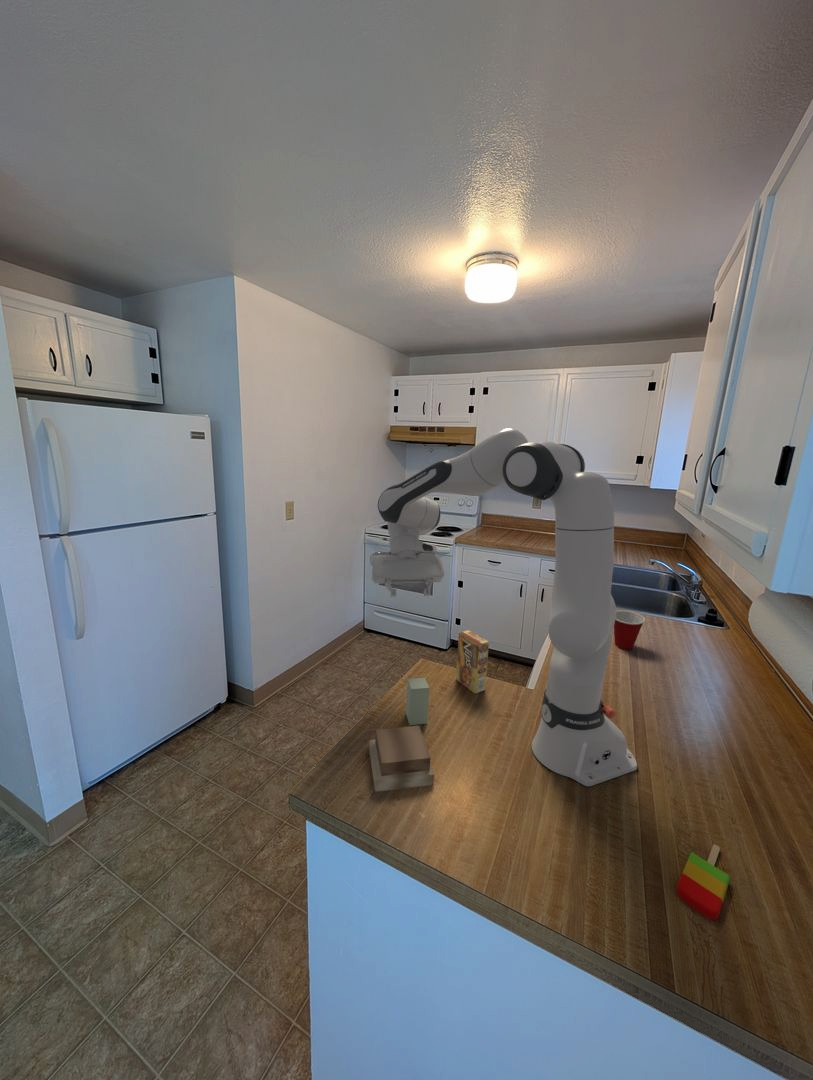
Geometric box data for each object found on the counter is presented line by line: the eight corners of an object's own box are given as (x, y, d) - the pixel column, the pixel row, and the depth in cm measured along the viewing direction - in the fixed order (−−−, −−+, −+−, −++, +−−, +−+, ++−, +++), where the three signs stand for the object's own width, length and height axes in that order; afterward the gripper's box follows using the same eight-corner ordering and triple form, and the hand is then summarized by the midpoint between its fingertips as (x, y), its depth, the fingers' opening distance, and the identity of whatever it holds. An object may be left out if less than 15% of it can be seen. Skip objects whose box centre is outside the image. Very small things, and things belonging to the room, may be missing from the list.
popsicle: (673, 896, 64) (675, 887, 64) (697, 839, 74) (699, 830, 74) (715, 926, 60) (718, 917, 60) (735, 861, 70) (737, 853, 70)
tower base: (420, 746, 95) (420, 734, 94) (433, 787, 83) (434, 774, 83) (368, 751, 93) (369, 740, 92) (375, 794, 81) (375, 781, 80)
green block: (422, 712, 106) (424, 677, 104) (426, 723, 102) (429, 687, 100) (405, 713, 105) (407, 678, 103) (409, 725, 101) (411, 689, 99)
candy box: (485, 690, 117) (490, 641, 114) (474, 694, 115) (479, 644, 112) (465, 675, 124) (469, 629, 121) (454, 679, 122) (458, 632, 119)
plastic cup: (600, 643, 150) (605, 613, 148) (617, 637, 156) (622, 608, 153) (629, 656, 141) (635, 624, 139) (646, 649, 147) (651, 618, 145)
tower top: (418, 737, 93) (419, 725, 93) (429, 770, 84) (430, 757, 83) (375, 741, 91) (375, 730, 91) (381, 776, 82) (382, 763, 81)
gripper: (370, 546, 113) (373, 591, 106) (441, 546, 117) (449, 590, 110) (368, 557, 118) (371, 601, 111) (436, 557, 122) (443, 599, 115)
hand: (410, 595), depth 110 cm, fingers open, 8 cm apart
